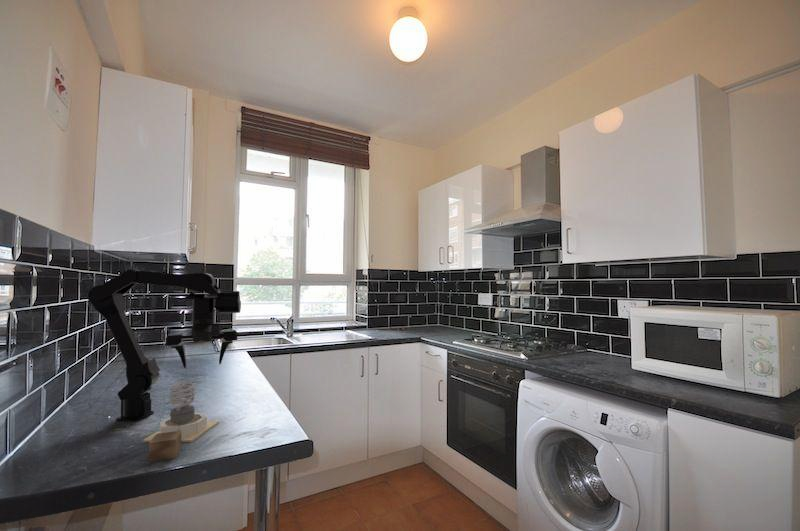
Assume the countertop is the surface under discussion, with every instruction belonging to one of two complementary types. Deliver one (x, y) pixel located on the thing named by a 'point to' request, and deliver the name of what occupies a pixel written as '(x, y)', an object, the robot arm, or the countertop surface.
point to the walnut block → (165, 446)
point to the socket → (186, 428)
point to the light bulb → (184, 410)
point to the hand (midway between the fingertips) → (202, 365)
